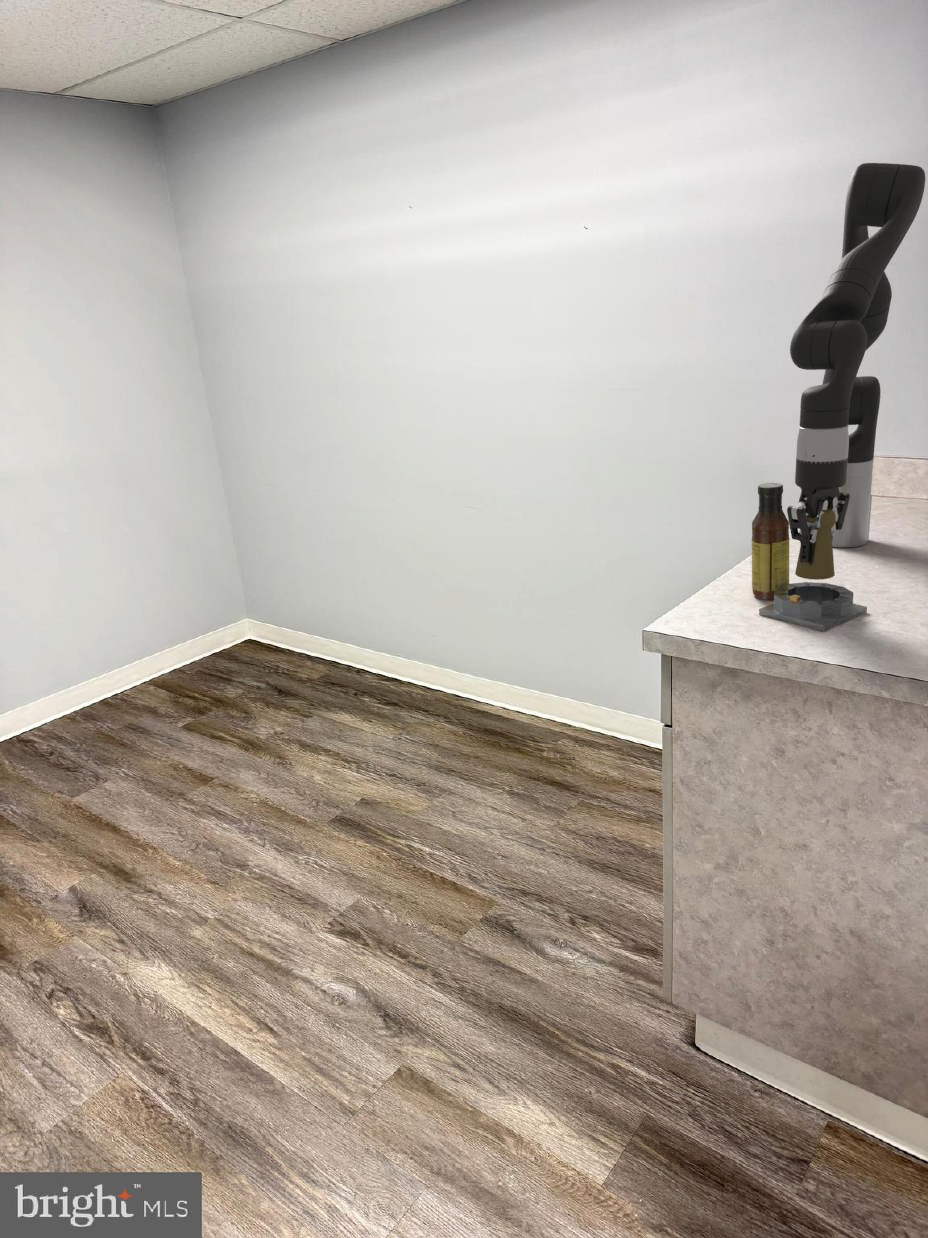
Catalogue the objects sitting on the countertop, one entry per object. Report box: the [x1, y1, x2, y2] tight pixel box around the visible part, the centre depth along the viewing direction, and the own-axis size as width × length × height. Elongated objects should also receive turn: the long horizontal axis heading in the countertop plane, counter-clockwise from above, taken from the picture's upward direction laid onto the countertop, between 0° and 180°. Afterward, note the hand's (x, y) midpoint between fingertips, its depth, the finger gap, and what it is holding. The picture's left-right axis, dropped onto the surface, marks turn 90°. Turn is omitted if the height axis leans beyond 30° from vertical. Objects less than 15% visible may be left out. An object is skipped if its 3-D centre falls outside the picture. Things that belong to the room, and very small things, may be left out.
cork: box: [795, 508, 836, 580], centre depth 145 cm, size 6×6×11 cm
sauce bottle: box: [751, 482, 790, 601], centre depth 155 cm, size 6×6×20 cm
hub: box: [758, 581, 868, 633], centre depth 148 cm, size 12×12×4 cm
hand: (815, 560), depth 146 cm, fingers closed on cork, 4 cm apart
